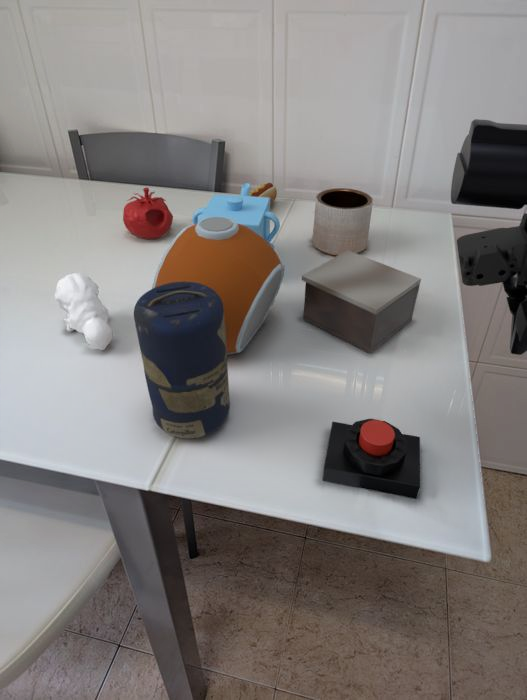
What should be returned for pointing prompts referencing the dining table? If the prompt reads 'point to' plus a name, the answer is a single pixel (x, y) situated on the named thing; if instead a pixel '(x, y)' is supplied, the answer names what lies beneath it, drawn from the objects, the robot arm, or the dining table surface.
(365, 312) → the wooden box
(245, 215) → the teapot
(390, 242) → the dining table surface
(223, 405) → the canister
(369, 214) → the planter
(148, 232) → the red tomato
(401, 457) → the switch block
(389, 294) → the grey square plate
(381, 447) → the button
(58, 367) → the dining table surface
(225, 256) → the alarm clock
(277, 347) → the dining table surface
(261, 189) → the food
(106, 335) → the white animal figurine
